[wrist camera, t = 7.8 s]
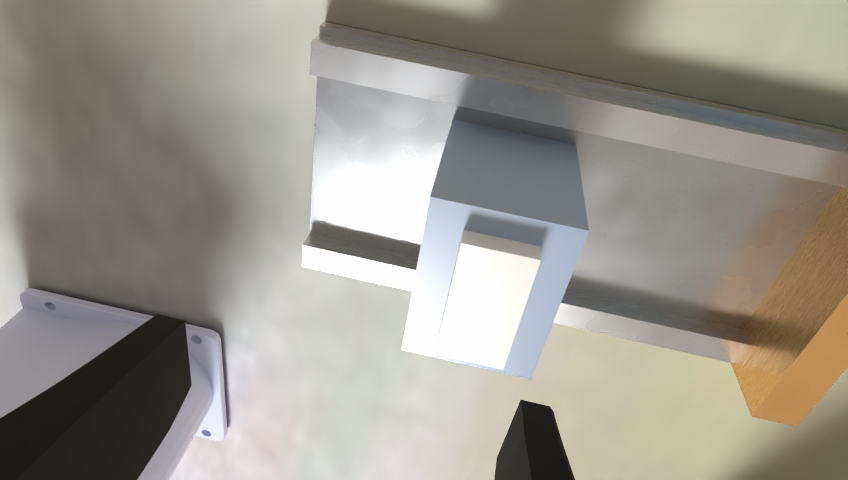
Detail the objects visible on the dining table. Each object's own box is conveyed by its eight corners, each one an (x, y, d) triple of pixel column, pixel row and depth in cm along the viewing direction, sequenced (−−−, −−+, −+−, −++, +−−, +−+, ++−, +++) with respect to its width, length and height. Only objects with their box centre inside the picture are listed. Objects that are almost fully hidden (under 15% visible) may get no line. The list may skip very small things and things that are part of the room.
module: (426, 254, 21) (397, 364, 17) (452, 118, 18) (426, 209, 14) (531, 277, 21) (530, 394, 17) (576, 144, 18) (591, 244, 14)
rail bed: (312, 251, 23) (281, 309, 20) (324, 21, 18) (284, 55, 15) (762, 352, 22) (795, 426, 19) (912, 143, 17) (989, 202, 14)
